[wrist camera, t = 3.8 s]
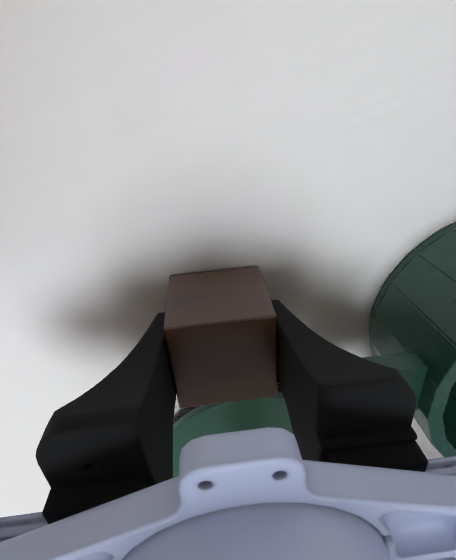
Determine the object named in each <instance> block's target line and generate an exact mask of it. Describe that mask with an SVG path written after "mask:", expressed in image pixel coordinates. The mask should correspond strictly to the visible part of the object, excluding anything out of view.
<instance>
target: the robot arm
mask: <svg viewBox="0 0 456 560" xmlns="http://www.w3.org/2000/svg"><path fill="white" fill-rule="evenodd" d="M271 302H272V305H273V307H274V310H275V313H276V315H277V370H278V383H279V386H280V389H281V392H282V394H283V397H284V400H285V403H286V406H287V410H288V414H289V418H290V422H291V426H292V430H293V434H292V433H291V432H289V431H287V430H285V429H283V428H273V427H267V428H259V429H251V430H243V431H235V432H228V433H220V434H212V435H205V436H202V437H198V438H195V439H192V440H191V441H189V442H188V443H187V444H186V445H185V446H184V447H183V448H182V449H181V453H180V459H179V476H177V477H175V478H173V420H174V409H175V401H176V389H175V384H174V379H173V374H172V369H171V364H170V360H169V355H168V350H167V345H166V340H165V335H164V330H163V328H164V320H165V312H163V313H158V314H157V315H156V317H155V318H154V320H153V322H152V323H151V325H150V326H149V328H148V329H147V331H146V332H145V334H144V335H143V337H142V338H141V339H140V341H139V342H138V344H137V345H136V346H135V347H134V349H133V350H132V351H131V352H130V353H129V355H128V356H127V357H126V358H125V359H124V360H123V361H122V362H121V364H119V365H118V366H117V367H116V368H115V369H114V370H113V371H112V372H111V373H110V374H109V375H107V376H106V377H105V378H104V379H103V380H102V381H100V382H99V383H98V384H97V385H95V386H94V387H93V388H91V389H90V390H88V391H87V392H86V393H84V394H83V395H81V396H80V397H78V398H77V399H75V400H73V401H72V402H70V403H68V404H67V405H65V406H63V407H61V408H60V409H58V410H56V411H55V412H54V413H53V415H52V417H51V419H50V421H49V422H48V425H47V427H46V429H45V431H44V433H43V436H42V438H41V440H40V443H39V445H38V447H37V450H36V459H37V462H38V465H39V467H40V468H41V470H42V472H43V474H44V476H45V478H46V479H47V481H48V483H49V485H50V487H51V490H50V492H49V495H48V498H47V501H46V504H45V507H44V509H43V512H38V513H31V514H23V515H16V516H9V517H1V518H0V560H456V456H454V457H446V458H439V459H431V460H427V458H426V457H425V455H424V454H423V452H422V450H421V449H420V447H419V446H418V444H417V442H416V441H415V440H416V439H417V435H416V433H415V431H414V430H413V428H412V427H411V424H412V420H413V416H414V412H415V408H416V401H417V399H416V396H415V393H414V391H413V390H412V388H411V387H410V386H409V384H408V383H407V382H406V380H405V379H404V378H403V377H402V375H401V374H400V373H399V372H398V371H397V370H396V369H394V368H391V367H388V366H384V365H381V364H378V363H374V362H371V361H369V360H366V359H364V358H361V357H358V356H356V355H354V354H351V353H349V352H347V351H345V350H343V349H341V348H339V347H337V346H335V345H334V344H332V343H330V342H329V341H327V340H325V339H324V338H322V337H321V336H319V335H318V334H316V333H315V332H313V331H312V330H311V329H309V328H308V327H307V326H306V325H304V324H303V323H302V322H301V321H300V320H299V319H297V318H296V317H295V316H294V315H293V314H292V313H291V312H290V311H289V310H288V309H287V308H286V307H285V306H284V305H283V304H282V303H281V302H280V301H279V300H271Z"/></svg>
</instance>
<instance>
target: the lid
mask: <svg viewBox="0 0 456 560" xmlns="http://www.w3.org/2000/svg"><path fill="white" fill-rule="evenodd" d="M267 427H273V428H283V429H285V430H287V431H289V432H291V433H292V434H293V430H292V426H291V422H290V418H289V414H288V410H287V406H286V403H285V400H284V397H283V394H282V392H279V391H278V395H277V396H276V397H268V398H260V399H252V400H244V401H236V402H228V403H220V404H212V405H204V406H199V407H197V408H195V409H193V410H192V411H190V412H188V413H187V414H185V415H184V416H183V417H181V418H180V419H179V420H178V421H177V422H175V423H174V424H173V478H175V477H177V476H179V459H180V453H181V449H182V448H183V447H184V446H185V445H186V444H187V443H188V442H189V441H191V440H192V439H195V438H198V437H202V436H205V435H212V434H220V433H228V432H235V431H243V430H251V429H259V428H267Z"/></svg>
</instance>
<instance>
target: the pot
mask: <svg viewBox="0 0 456 560" xmlns="http://www.w3.org/2000/svg"><path fill="white" fill-rule="evenodd" d="M369 338H370V345H371V349H372V352H373V354H374V356H373V357H365V358H364V359H366V360H369V361H371V362H374V363H378V364H381V365H384V366H388V367H391V368H394V369H396V370H397V371H398V372H399V373H400V374H401V375H402V377H403V378H404V379H405V380H406V382H407V383H408V384H409V386H410V387H411V388H412V390H413V391H414V393H415V396H416V399H417V401H416V408H415V412H414V416H413V417H414V418H415V420H416V421H417V423H418V424H419V426H420V427H421V429H422V430H423V432H424V433H425V435H426V436H427V438H428V439H429V441H430V442H431V443H432V445H433V446H434V447H435V448H436V449H437V450H438V451H439V453H440V454H441V455H442V456H443V457H444V458H446V457H454V456H456V223H454V224H452V225H450V226H448V227H446V228H445V229H443V230H441V231H439V232H438V233H436V234H435V235H433V236H432V237H430V238H429V239H427V240H426V241H424V242H423V243H422V244H421V245H419V246H418V247H417V248H416V249H414V250H413V251H412V252H411V253H410V254H409V255H408V256H407V257H406V258H405V259H404V260H403V261H402V262H401V263H400V264H399V265H398V266H397V268H396V269H395V270H394V271H393V272H392V274H391V275H390V277H389V278H388V280H387V281H386V282H385V284H384V285H383V287H382V289H381V291H380V293H379V295H378V297H377V299H376V302H375V304H374V307H373V310H372V314H371V318H370V325H369Z"/></svg>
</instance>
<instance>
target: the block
mask: <svg viewBox="0 0 456 560" xmlns="http://www.w3.org/2000/svg"><path fill="white" fill-rule="evenodd" d="M163 330H164V335H165V340H166V345H167V350H168V355H169V360H170V364H171V369H172V374H173V379H174V384H175V389H176V394H177V398H178V403H179V407H180V408H188V407H196V406H204V405H212V404H220V403H228V402H236V401H244V400H252V399H260V398H268V397H276V396H277V395H278V370H277V315H276V313H275V310H274V307H273V305H272V302H271V299H270V296H269V294H268V291H267V288H266V286H265V283H264V280H263V278H262V275H261V272H260V270H259V267H258V266H255V267H246V268H237V269H227V270H218V271H209V272H200V273H191V274H182V275H173V276H170V278H169V287H168V295H167V303H166V311H165V320H164V328H163Z"/></svg>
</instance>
